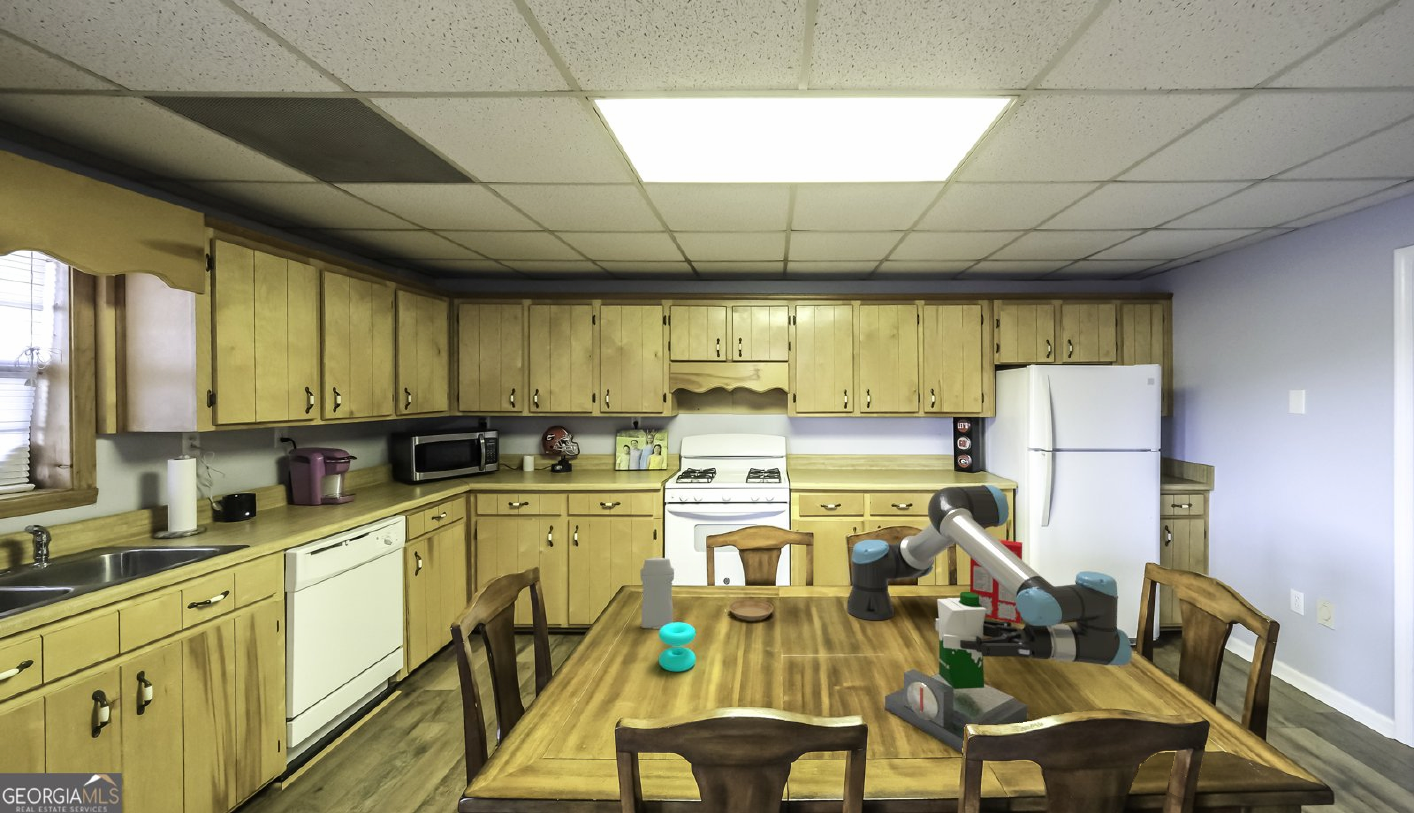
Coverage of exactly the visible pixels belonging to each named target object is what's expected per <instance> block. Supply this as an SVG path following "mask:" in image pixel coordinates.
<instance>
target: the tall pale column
mask: <svg viewBox="0 0 1414 813" xmlns="http://www.w3.org/2000/svg"><path fill="white" fill-rule="evenodd" d="M639 573H640V575H639V576H640V581H641V583H642V584H641V586H642V599H643V600H642V603H641V628H642V629H648V630H649V629H650V630H651V629H653V630H660V629H661V628H662V627H663V626H664V625H667V624H669V623H674V604H673V600H672V596H673V589H672V588H673V581H674V579H675V568H673V567H672V564H671V560H670V558H665V557H653V558H647V559H644V564H643V567H642V568H641V569H640V571H639Z"/></svg>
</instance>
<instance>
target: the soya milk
mask: <svg viewBox="0 0 1414 813" xmlns="http://www.w3.org/2000/svg"><path fill="white" fill-rule="evenodd" d="M936 600H937V601H936V602H937V612H938V619H939V631H938V659H939V660H938V662H939V663H938V673H939V675H940V676H941V677H942V678H943V679H944V680H945V681H946V682H947V683H948V684H950V685H951V686H952V687H953V688H954V689H969V688H984V684H985V677H984V676H985V675H984V674H985V673H984V672H985V671H984V656H982V653H980V652H977V651H976V650H964V649H953V648H944V646H943V634H945V635H957V636H969V637H975V641H976V636H978V637H980V638H981V639H984V635H983V624H984V619H985V618H986V617H985V614H986V609H985V608H984V607H983V606H981V605H980V604H979V595H978V594H976V593H972V592H970V591H962V592H960V593H959V597H955V598H954V597H947V598H937V599H936ZM985 620H986V619H985Z"/></svg>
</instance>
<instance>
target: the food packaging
mask: <svg viewBox="0 0 1414 813" xmlns="http://www.w3.org/2000/svg"><path fill="white" fill-rule="evenodd" d="M996 539H997V538H996ZM997 540H998V541H999V542H1001V543H1002V544H1003V545H1004V546H1005V547H1007V548H1008V549H1009V550H1010V551H1011V552H1013V553H1014V554H1015V555H1016V556H1017V557H1019V558H1020V559H1021V560H1022V561H1023V542H1020V541H1014V540H1013V541H1012V540H1007V539H1006V540H1004V539H997ZM969 557H970V556H969ZM969 562H970V564H969V565H970V566H969V568H970V569H969V570H970V572H969V573H970V574H969V578H970V579H969V580H970V582H969V592H972V593H976V594H978V595H979V604H980V605H981V606H983V607H984V608H985V609H986V614H985V618H987V617H989V618H988V619H992V618H994V619H993V620H997V619H999V621H1003V620H1004V621H1003V622H1010V623H1014V624H1021V623H1022V617H1021V614H1020V612H1019V611H1018V610H1017V607H1016V598H1015V597H1014V596H1013V595H1011V594H1010V593H1009V592H1008V591H1007V590H1006V589H1005V588H1004V587H1003V586H1002V585H1001V584H999V583H998V582H997V581H996V580H995V579H994V578H993V577H992V576H991V575H990V574H989V573H988V572H986V571H985V570H984V569H983V568H982V567H981V566H980V565H979V564H978V563H977V562H976V561H975V560H973V559H972V558H971V557H970V561H969Z"/></svg>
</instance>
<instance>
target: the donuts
mask: <svg viewBox="0 0 1414 813" xmlns="http://www.w3.org/2000/svg"><path fill="white" fill-rule="evenodd" d="M696 634H697V633H696V629H695V627H694V626H692V625H691V624H689V623H686V622H676V621H675V622H673V623H669V624H667V625H664V626H663V627H662V628H661V629H659V632H658V638H659V640H660V641H661V642H662V643H663V644H666V645H668V646H671V647H669V648H666V649H664V650H663V651H662V652H661V653H660V654H659V657H658V663H659V665H660V666H661V668H663V669H664V670H666V671H670V672H675V673H676V672H679V673H680V672H684V671H687V670H689V669H691V668H693V666H694V665H695V664H696V660H697V659H696V655H695V652H693V651H692V650H691V649H690V648H688V647H684V646H686V645H688V644H690V643H692V642H693V641H694V639H695V638H696Z"/></svg>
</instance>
